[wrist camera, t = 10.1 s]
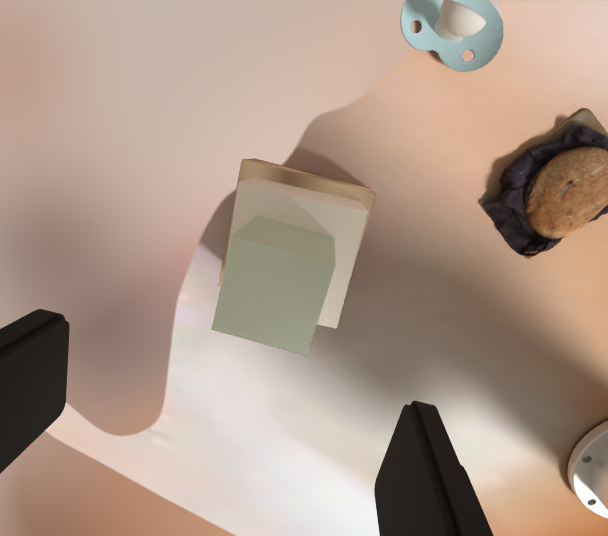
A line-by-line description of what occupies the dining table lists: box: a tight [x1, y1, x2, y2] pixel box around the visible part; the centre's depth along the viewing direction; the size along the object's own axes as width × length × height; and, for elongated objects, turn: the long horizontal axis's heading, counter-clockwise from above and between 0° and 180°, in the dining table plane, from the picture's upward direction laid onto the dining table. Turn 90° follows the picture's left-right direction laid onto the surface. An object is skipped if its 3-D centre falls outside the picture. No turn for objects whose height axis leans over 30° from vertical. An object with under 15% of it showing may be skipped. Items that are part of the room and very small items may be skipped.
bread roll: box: [479, 109, 608, 259], centre depth 30 cm, size 11×8×4 cm
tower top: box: [224, 177, 368, 329], centre depth 26 cm, size 8×8×5 cm
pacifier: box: [401, 0, 503, 72], centre depth 25 cm, size 7×6×6 cm
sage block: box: [212, 216, 336, 356], centre depth 21 cm, size 5×5×6 cm
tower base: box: [218, 159, 376, 293], centre depth 31 cm, size 10×10×5 cm
